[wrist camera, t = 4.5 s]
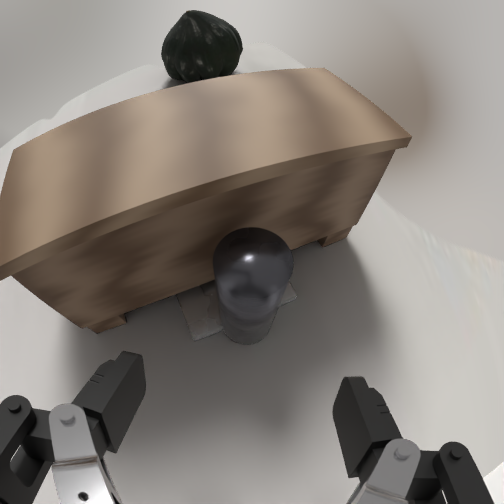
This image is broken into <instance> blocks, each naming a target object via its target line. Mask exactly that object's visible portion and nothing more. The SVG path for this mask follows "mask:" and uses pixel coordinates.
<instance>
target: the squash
mask: <svg viewBox="0 0 504 504" xmlns="http://www.w3.org/2000/svg"><path fill="white" fill-rule="evenodd" d="M242 51H243V47H242V41H241V38H240V35H239V33H238V31H237V30H236V29H235V28H234V27H233V26H232V25H230V24H229V23H227V22H226V21H224V20H222V19H220V18H218V17H216V16H214V15H211V14H208V13H205V12H202V11H196V10H191V11H186V13H184V14H183V15H182V17H181V18H180V19H179V21H178V22H177V23H176V24H175V25H174V27H173V28H172V29H171V30H170V32H169V33H168V34H167V36H166V38H165V40H164V43H163V46H162V53H161V55H162V60H163V62H164V65H165V68H166V70H167V73H168V74H169V76H170V77H172V78H173V79H176V80H185V81H186V82H188V83H192V82H196V81H199V80H200V79H201V78H203V79H204V80H207V79H212V78H218V77H224V76H228V75H230V74H231V73H232V72H233V71H234V70H235V69H236V67H237V65H238V62H239V58H240V55H241V53H242Z"/></svg>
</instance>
